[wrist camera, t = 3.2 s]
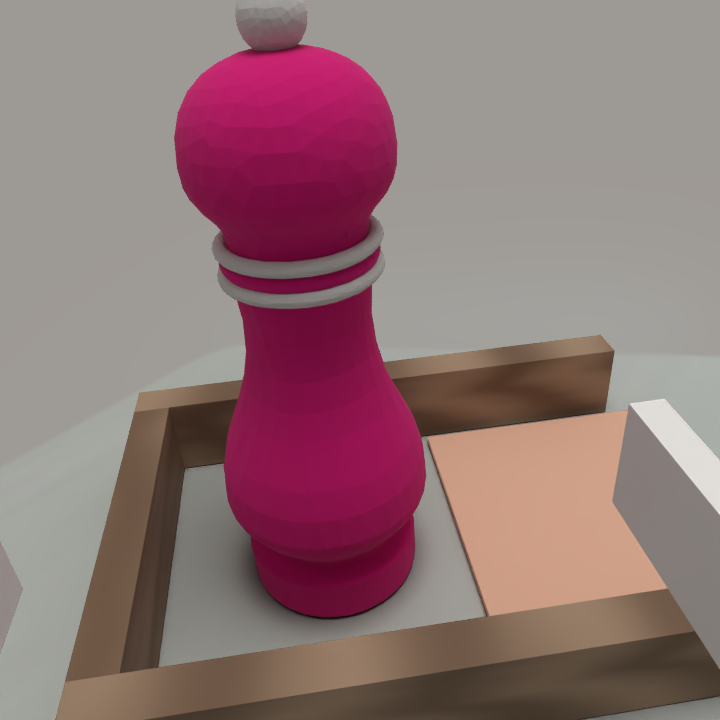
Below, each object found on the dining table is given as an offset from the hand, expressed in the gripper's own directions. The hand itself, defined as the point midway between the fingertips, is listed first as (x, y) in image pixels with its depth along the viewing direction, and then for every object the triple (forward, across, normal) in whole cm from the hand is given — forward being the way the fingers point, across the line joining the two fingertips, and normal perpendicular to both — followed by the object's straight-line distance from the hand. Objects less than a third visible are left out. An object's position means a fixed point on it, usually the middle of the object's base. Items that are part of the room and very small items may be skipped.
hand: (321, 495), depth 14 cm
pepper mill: (+8, 0, -11) cm, 14 cm away
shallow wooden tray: (+8, +3, -11) cm, 14 cm away
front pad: (+8, +10, -11) cm, 17 cm away
